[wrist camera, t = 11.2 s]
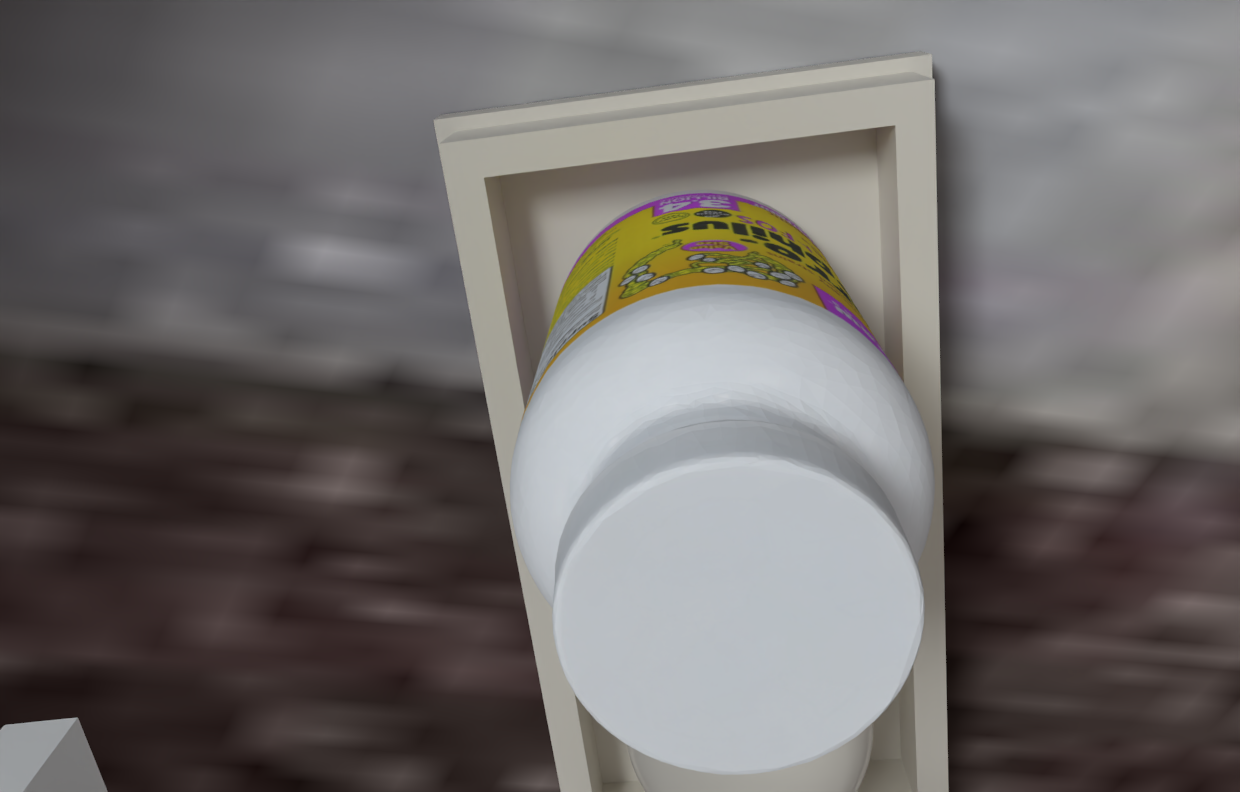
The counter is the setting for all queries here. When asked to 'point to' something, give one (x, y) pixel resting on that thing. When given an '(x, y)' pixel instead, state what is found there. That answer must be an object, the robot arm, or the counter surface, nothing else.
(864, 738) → the ivory egg
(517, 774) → the counter surface
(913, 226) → the carrier
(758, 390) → the supplement bottle
